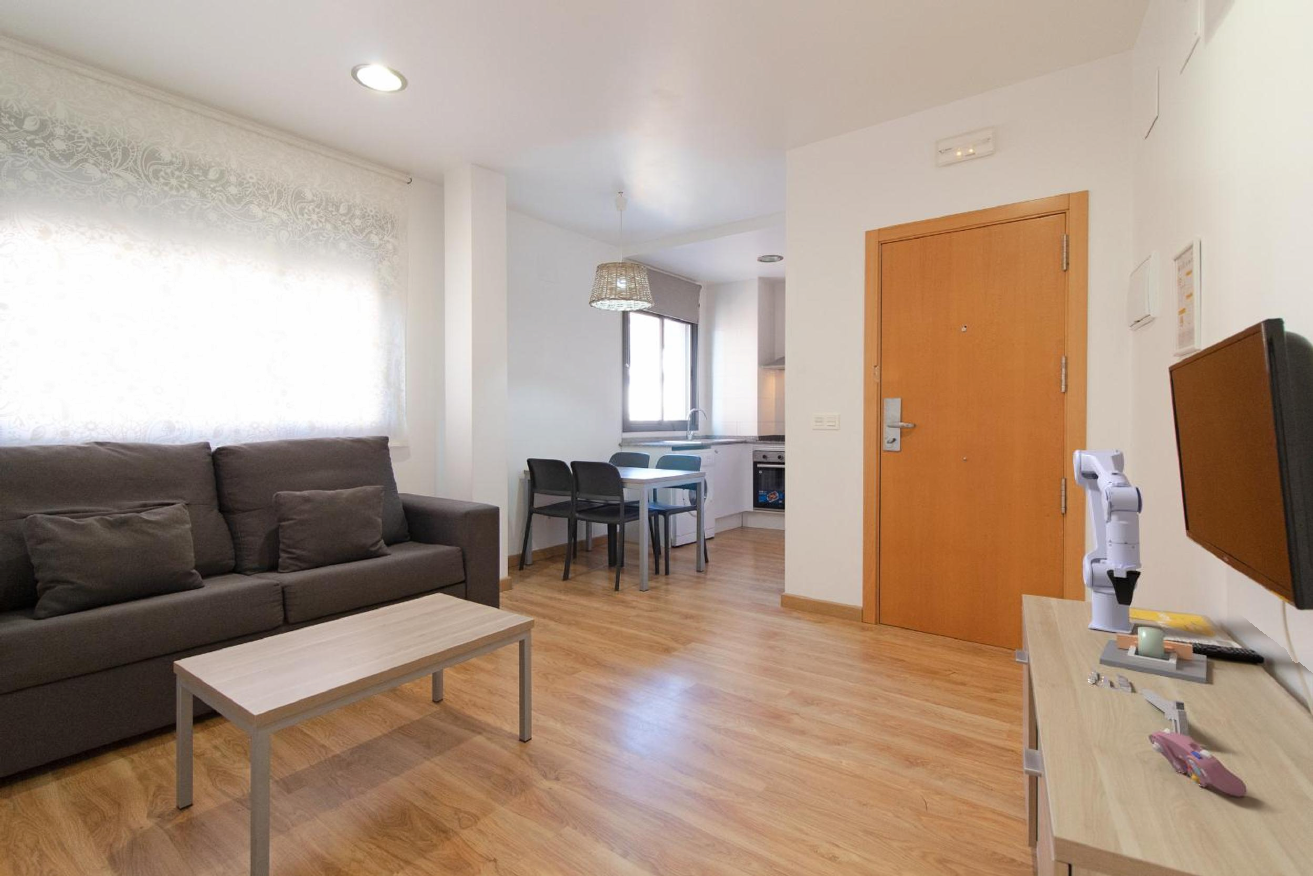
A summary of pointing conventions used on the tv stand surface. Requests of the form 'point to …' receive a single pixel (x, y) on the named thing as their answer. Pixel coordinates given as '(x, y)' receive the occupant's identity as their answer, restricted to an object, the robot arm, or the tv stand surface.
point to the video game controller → (1196, 762)
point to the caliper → (1170, 711)
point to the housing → (1156, 663)
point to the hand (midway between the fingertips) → (1124, 604)
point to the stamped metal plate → (1122, 681)
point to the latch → (1180, 648)
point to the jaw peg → (1151, 642)
